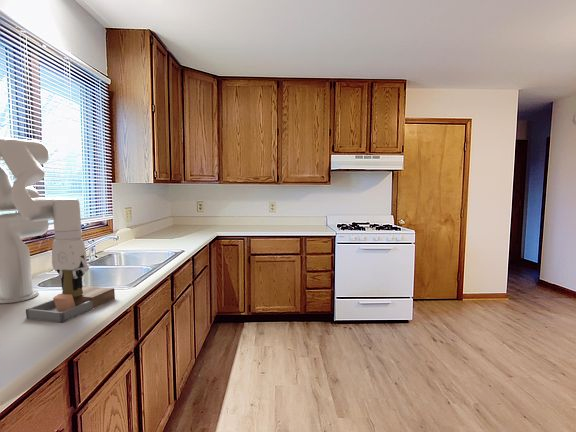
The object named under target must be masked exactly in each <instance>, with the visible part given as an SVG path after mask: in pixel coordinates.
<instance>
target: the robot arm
mask: <svg viewBox="0 0 576 432" xmlns="http://www.w3.org/2000/svg"><path fill="white" fill-rule="evenodd" d="M49 158H50V151H49V148H48V147H47V146H46V145H45V144H44V143H43V142H41V141H39V140H32V139H31V140H30V139H22V138H21V139H20V138H13V137H5V136H3V137H2V136H0V161H4V163H5V164H6V166H7V167H8V169H9V171H10V172H11V174H12V176H13V177H14V179H15V180H14V182H12V180H11V176H10V174H9V172H8V171H7V170H6V169H5V168H4V167H3V166H2V165H0V212H10V213H2V214H0V304H11V303H20V302H24V301H28V300H31V299H33V298H36V297H38V295H39V291H38V290H36V289H34V285H33V274H32V264H31V253H30V252H31V251H30V248H29V246H28V245H27V244H26V243H25V242H24V241H23V239H25V238H32V237H38V236H39V237H40V236H42V235H44V234H46V233H47V232H48V230H49V220H53V230H54V232H53V233H54V234H53V235H54V239H53V241H52V246H51V264H52V268H53V270H55V271H56V272H57V274H58V275H59V276H58V277H59V278H60V281H61V289H62V290H63V278H64V273H63V272H62V270H72V272H73V276H74V279H72V282H73V290H77V289H78V288H80V289H81V288H82V286H83V277H84V274H85V273H86V272H88V271H89V270H90V267H89V266H88V264H87V263H88V261H87V260H88V259H87V252H86V250H87V249H86V246H85V242H84V238H83V234H82V219H81V206H80V201H79V199H77V198H74V197H73V198H71V197H62V196H57V197H56V196H55V197H53V196H52V197H50V196H49V197H48V196H47V197H41V195H40V193H39V191H37V189H36V188H34V187H33V185H36V184H37V183H40V182H41V181H42V180H43V179H44V178H45V174H46V173H45V171H44V169H43V167H42V166H41V165H43V164H45V163H47V162H48V161H49ZM14 211H17V212H14ZM11 212H13V213H11ZM77 270H79V271H78V273H77Z"/></svg>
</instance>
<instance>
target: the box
mask: <svg viewBox="0 0 576 432" xmlns="http://www.w3.org/2000/svg"><path fill="white" fill-rule="evenodd" d="M91 310H93V303H92V300H90V301H87V302H85V303H82V304H80V305H78V306H75V307H73V308H70V309H68V310H66V311H63V312H62V311H57V308H56V306H55V303H54V300H53V299H51V300H48V301H45V302H43V303H39V304H37V305H34V306H32V307H31V306H30V307H29V308H27V309H25V318H26V319H27V320H36V321H43V322H44V321H45V322H51V323H52V322H53V323H62V324H63V323H65V322H68V321H69V320H71V319H73V318H76V317H79V316H80V315H83V314H85V313H86V312H89V311H91Z"/></svg>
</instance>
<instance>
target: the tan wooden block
mask: <svg viewBox="0 0 576 432" xmlns="http://www.w3.org/2000/svg"><path fill="white" fill-rule="evenodd" d="M82 290H83V294H82V295H80V296H76V297H73V299H74V302H75V306H78V305H80V304H82V303H85V302H87V301H90V300H92V303H93V308H94V309H96V308H99V307H100V305H101V306H102V304H103V305H105V304H107V303H110V302H112V301H114V300H115V299H116V295H115V288H114V287H103V286H90V285H89V286H87V285H82Z"/></svg>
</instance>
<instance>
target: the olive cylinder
mask: <svg viewBox="0 0 576 432" xmlns="http://www.w3.org/2000/svg"><path fill="white" fill-rule="evenodd" d="M78 271H79V270H77V273H78ZM62 272H63V273H64V278H63V289H62V293H61V294H69V295H72V296H73V297H76V296H80V295H82V294H83V290H82V288H81V289H80V288H78V289H77V290H73V282H72V279H74V276H73V272H72V270H62Z"/></svg>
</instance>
